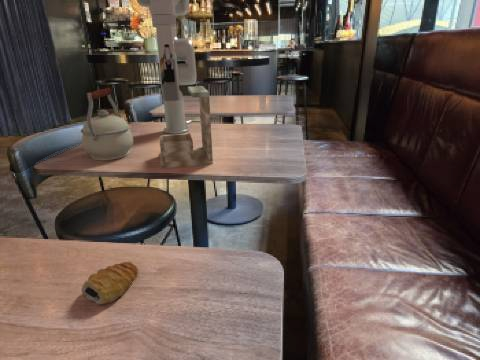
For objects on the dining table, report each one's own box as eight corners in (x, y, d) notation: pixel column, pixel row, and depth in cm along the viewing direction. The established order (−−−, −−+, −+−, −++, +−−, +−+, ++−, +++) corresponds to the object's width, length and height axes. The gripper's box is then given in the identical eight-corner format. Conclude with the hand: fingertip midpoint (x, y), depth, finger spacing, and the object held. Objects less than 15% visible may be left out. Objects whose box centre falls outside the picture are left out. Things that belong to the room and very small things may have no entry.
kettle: (122, 164, 114) (110, 93, 104) (73, 164, 115) (56, 94, 105) (145, 144, 137) (137, 85, 127) (104, 144, 138) (93, 85, 128)
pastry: (122, 265, 61) (119, 249, 60) (148, 276, 58) (145, 259, 57) (79, 297, 53) (74, 279, 52) (106, 311, 50) (102, 293, 49)
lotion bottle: (174, 98, 114) (169, 37, 106) (183, 99, 110) (178, 37, 102) (160, 100, 110) (153, 37, 103) (168, 101, 106) (162, 37, 99)
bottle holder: (160, 168, 109) (151, 94, 99) (160, 153, 125) (153, 88, 116) (212, 163, 113) (209, 92, 103) (206, 149, 129) (202, 86, 119)
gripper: (152, 23, 107) (158, 79, 114) (151, 20, 92) (158, 84, 99) (174, 23, 109) (179, 78, 116) (177, 20, 94) (182, 83, 101)
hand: (169, 80), depth 107 cm, fingers closed on lotion bottle, 5 cm apart
